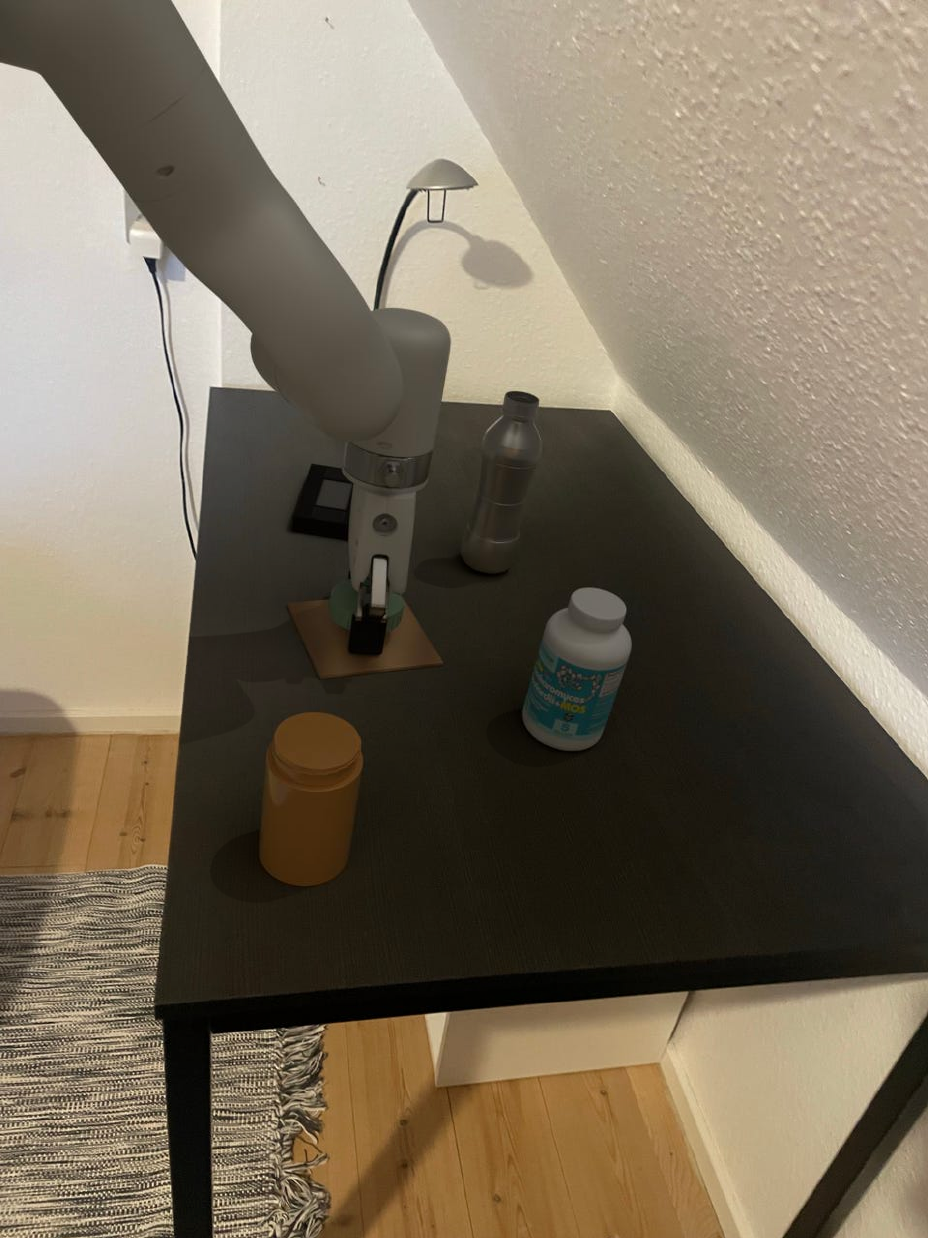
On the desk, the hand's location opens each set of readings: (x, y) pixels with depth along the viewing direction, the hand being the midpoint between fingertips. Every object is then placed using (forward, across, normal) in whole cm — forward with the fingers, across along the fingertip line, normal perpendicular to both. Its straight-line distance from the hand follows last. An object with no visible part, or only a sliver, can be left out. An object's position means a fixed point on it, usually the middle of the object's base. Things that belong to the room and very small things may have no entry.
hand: (362, 628), depth 91 cm
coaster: (+1, 0, 0) cm, 1 cm away
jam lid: (-3, 0, 0) cm, 3 cm away
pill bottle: (+1, -12, -17) cm, 21 cm away
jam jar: (+1, -28, +6) cm, 28 cm away
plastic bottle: (+1, +15, -15) cm, 21 cm away
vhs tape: (+1, +26, +2) cm, 26 cm away
